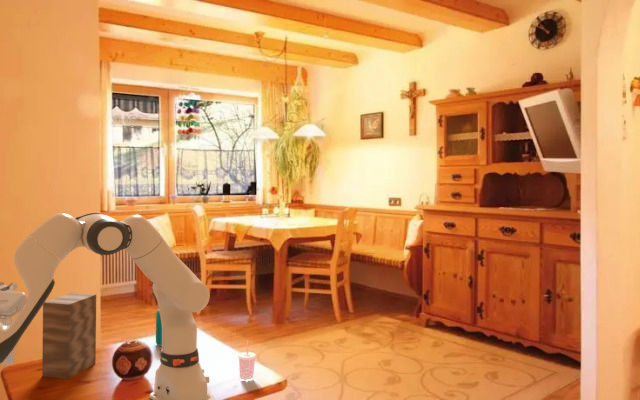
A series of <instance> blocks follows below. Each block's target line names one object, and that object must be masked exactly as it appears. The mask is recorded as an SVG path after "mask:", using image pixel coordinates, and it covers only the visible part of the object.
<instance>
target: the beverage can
mask: <svg viewBox="0 0 640 400" xmlns="http://www.w3.org/2000/svg"><path fill="white" fill-rule="evenodd" d="M155 343H156V345H157V346H158V347H162V323H161V318H160V312H159V308H157V309H156V314H155Z"/></svg>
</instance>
